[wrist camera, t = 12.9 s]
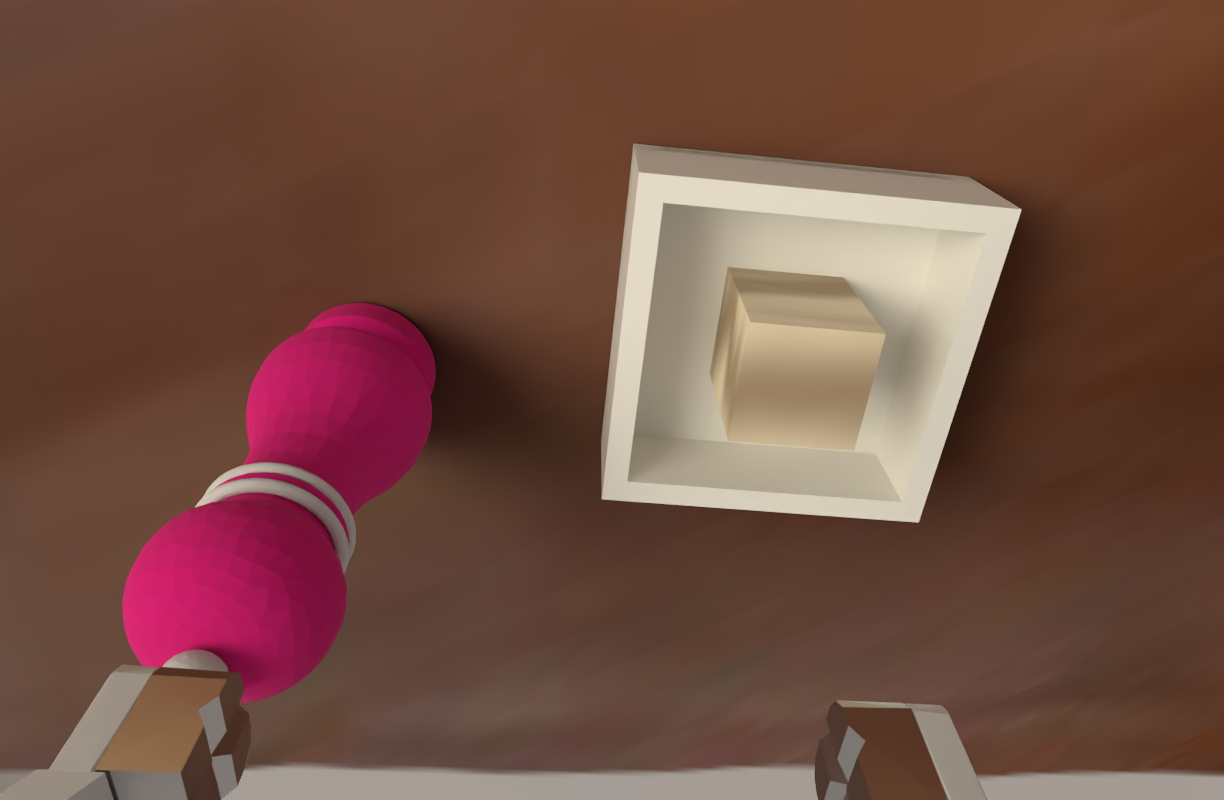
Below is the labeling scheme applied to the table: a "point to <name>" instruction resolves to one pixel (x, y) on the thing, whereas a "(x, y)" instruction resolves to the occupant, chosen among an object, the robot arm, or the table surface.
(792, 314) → the birch block
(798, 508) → the serving bin
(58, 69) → the table surface
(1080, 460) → the table surface
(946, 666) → the table surface
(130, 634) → the pepper mill
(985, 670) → the table surface
